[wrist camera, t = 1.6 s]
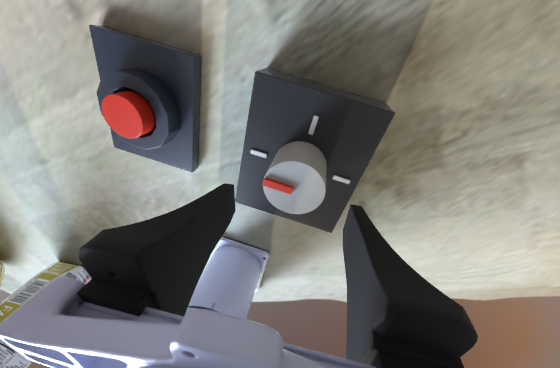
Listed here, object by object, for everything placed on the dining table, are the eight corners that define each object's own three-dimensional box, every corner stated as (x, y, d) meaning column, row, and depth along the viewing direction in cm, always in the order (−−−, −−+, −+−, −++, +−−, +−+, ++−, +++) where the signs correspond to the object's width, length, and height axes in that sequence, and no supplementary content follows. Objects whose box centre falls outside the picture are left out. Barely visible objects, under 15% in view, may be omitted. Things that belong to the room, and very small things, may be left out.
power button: (156, 137, 20) (144, 144, 19) (120, 126, 20) (106, 131, 19) (153, 97, 18) (139, 101, 17) (113, 85, 18) (96, 88, 17)
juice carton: (51, 256, 43) (-199, 442, 23) (84, 262, 41) (-152, 466, 21) (76, 286, 47) (-111, 459, 27) (106, 292, 46) (-68, 480, 26)
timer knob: (334, 150, 17) (335, 175, 14) (316, 194, 19) (313, 224, 16) (280, 134, 17) (268, 154, 14) (269, 179, 20) (256, 205, 16)
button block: (198, 167, 24) (183, 181, 22) (122, 143, 25) (99, 154, 22) (201, 55, 18) (180, 56, 16) (101, 25, 19) (65, 22, 16)
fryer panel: (331, 213, 24) (331, 234, 21) (244, 186, 24) (234, 203, 22) (386, 103, 17) (396, 113, 15) (266, 67, 18) (254, 71, 15)
